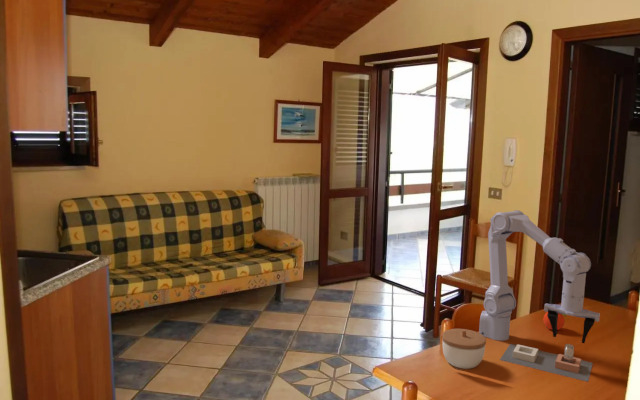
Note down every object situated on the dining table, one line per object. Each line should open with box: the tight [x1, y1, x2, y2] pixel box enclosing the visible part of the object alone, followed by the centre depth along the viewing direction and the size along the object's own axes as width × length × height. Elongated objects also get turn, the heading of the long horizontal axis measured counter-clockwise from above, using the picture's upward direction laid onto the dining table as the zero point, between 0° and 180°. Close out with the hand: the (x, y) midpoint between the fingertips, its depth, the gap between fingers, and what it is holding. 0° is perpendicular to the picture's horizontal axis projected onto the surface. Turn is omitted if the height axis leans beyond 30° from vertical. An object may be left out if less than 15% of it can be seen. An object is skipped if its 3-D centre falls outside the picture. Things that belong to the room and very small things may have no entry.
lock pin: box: [563, 343, 575, 364], centre depth 151 cm, size 2×2×6 cm
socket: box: [555, 353, 582, 373], centre depth 151 cm, size 6×6×2 cm
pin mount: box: [513, 343, 539, 363], centre depth 158 cm, size 6×6×2 cm
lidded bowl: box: [441, 328, 487, 372], centre depth 153 cm, size 13×13×11 cm
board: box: [499, 343, 594, 382], centre depth 155 cm, size 24×14×1 cm, turn 57°
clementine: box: [542, 312, 567, 331], centre depth 181 cm, size 8×7×7 cm
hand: (568, 338), depth 151 cm, fingers open, 7 cm apart
